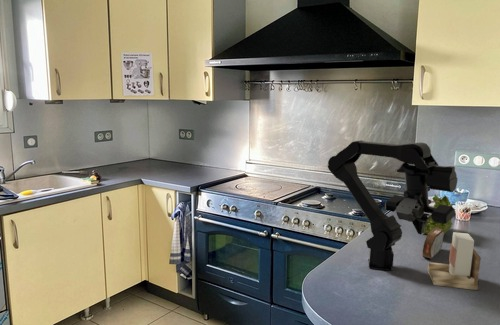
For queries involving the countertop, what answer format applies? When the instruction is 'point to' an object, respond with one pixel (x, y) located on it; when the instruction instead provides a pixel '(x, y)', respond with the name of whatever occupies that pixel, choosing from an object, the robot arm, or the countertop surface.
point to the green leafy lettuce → (432, 224)
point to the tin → (433, 243)
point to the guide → (444, 278)
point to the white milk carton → (461, 254)
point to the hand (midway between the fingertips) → (420, 233)
